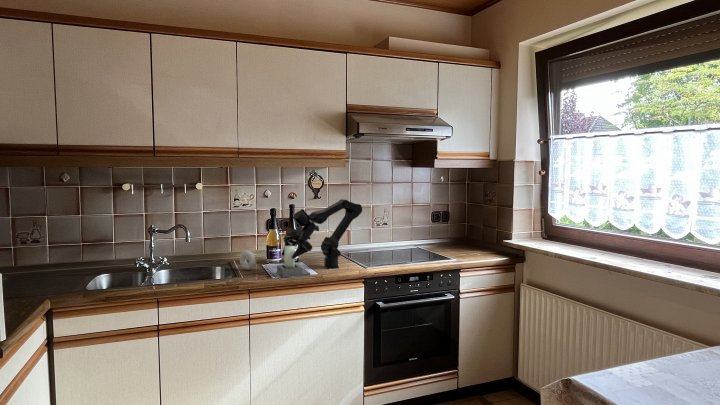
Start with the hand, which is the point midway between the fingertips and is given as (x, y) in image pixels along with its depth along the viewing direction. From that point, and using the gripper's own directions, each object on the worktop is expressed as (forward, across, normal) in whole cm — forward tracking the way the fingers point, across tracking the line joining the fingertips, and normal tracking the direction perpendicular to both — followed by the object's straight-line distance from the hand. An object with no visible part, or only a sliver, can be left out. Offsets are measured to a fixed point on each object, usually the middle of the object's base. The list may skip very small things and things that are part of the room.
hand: (287, 256), depth 220 cm
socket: (+4, 0, +9) cm, 10 cm away
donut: (+14, -21, -1) cm, 25 cm away
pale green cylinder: (+5, 0, +7) cm, 8 cm away
